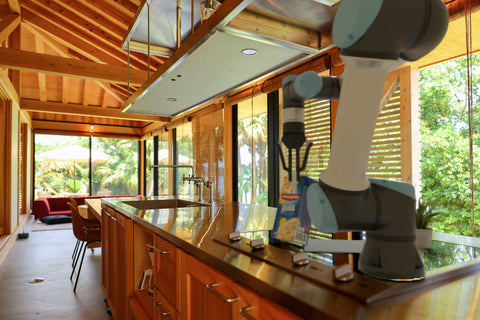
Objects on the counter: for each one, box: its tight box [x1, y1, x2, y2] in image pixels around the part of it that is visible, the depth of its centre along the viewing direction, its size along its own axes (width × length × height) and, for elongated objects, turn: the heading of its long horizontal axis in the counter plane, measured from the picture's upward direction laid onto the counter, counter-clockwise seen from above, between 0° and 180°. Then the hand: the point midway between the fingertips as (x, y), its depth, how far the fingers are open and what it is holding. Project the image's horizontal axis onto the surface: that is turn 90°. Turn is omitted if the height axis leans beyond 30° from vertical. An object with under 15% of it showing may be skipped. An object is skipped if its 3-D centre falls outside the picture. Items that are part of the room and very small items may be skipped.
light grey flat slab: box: [302, 238, 365, 255], centre depth 112 cm, size 18×22×1 cm
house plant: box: [416, 197, 445, 249], centre depth 112 cm, size 14×14×16 cm
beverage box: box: [270, 175, 319, 246], centre depth 117 cm, size 7×11×22 cm, turn 33°
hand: (294, 191), depth 114 cm, fingers closed
